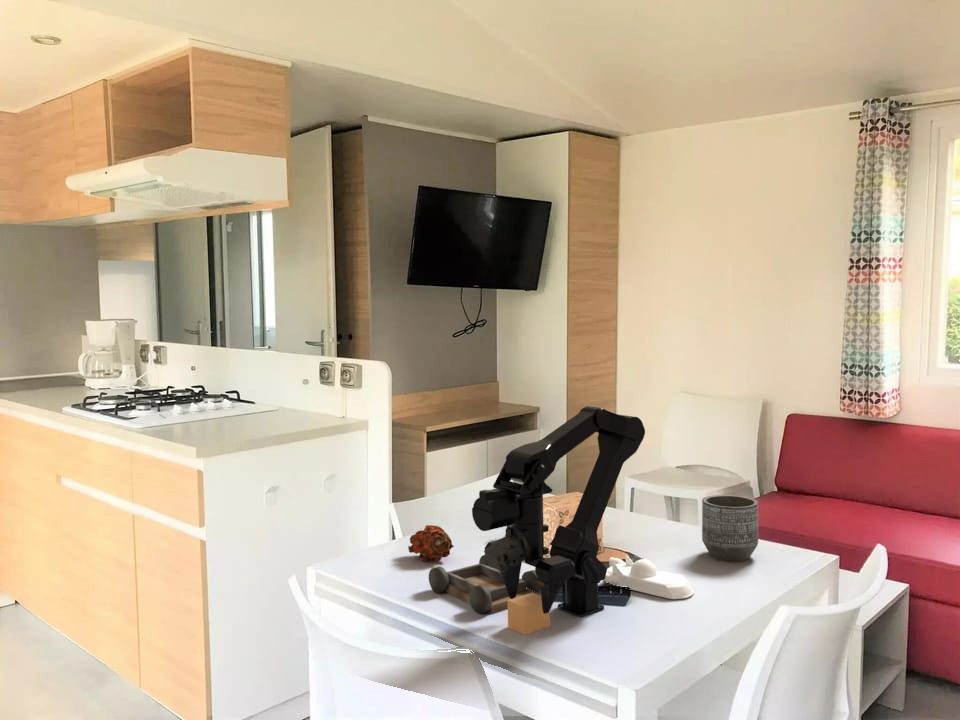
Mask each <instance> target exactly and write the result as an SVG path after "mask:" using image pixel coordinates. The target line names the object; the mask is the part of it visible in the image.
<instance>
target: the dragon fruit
mask: <svg viewBox="0 0 960 720" xmlns="http://www.w3.org/2000/svg"><path fill="white" fill-rule="evenodd" d="M409 544H411V545H408V546H407V547H408V552H409V553H414V554H416V555H417V554H419V559H420V560H421V561H422V562H425V561H424V560H426V561H428V560H430V561H431V562H441V560H442V558H447V557H448V556H449V555H451V549H452V548H454V547H455V546H454V545H453V542H452V539H451V537H450V536H449V534H448V533H447V532H446V531H445V530H444V529H443V528H442V527H441V526H439V525H432V524H431V525H430V524H426V525H425V526H424V529H421V530H418V531H416V532H415V533H414V534H412V535H411V536H410V538H409Z"/></svg>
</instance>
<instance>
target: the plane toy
mask: <svg viewBox="0 0 960 720" xmlns="http://www.w3.org/2000/svg"><path fill="white" fill-rule="evenodd" d="M608 565H609V567H608V568H607V572H606V576H605V579H604V580H603V581H602V582H604V581H605V582H608V583H611V584H614V585H613V586H615V585H619V586H627V587H630V588H631V589H630V590H632V591H635V592H639V593H644V594H648V595H652V596H656V597H660V598H666V599H668V600H669V599H670V600H679V599H681V600H682V599H687V598H690V597H692V596H693V595H694V593H695V590H694V589H693V587H692V585H691V584H690V582H689V581H688V580H687V579H686V578H685V577H684V576H683V575H682V574H681V573H680V574H679V573H673V572H668V571H663V570H658V568H657V567H656V565H655V563H653V562H652V561H651V560H649V559H645V558H644V559H638V560H636V561H635V562H633V560H632V559H631V558H630V557H629V556H628V555H625V561H624V560H622V559H620V558H618V557H610V558H609V560H608ZM611 584H610V585H611Z"/></svg>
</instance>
